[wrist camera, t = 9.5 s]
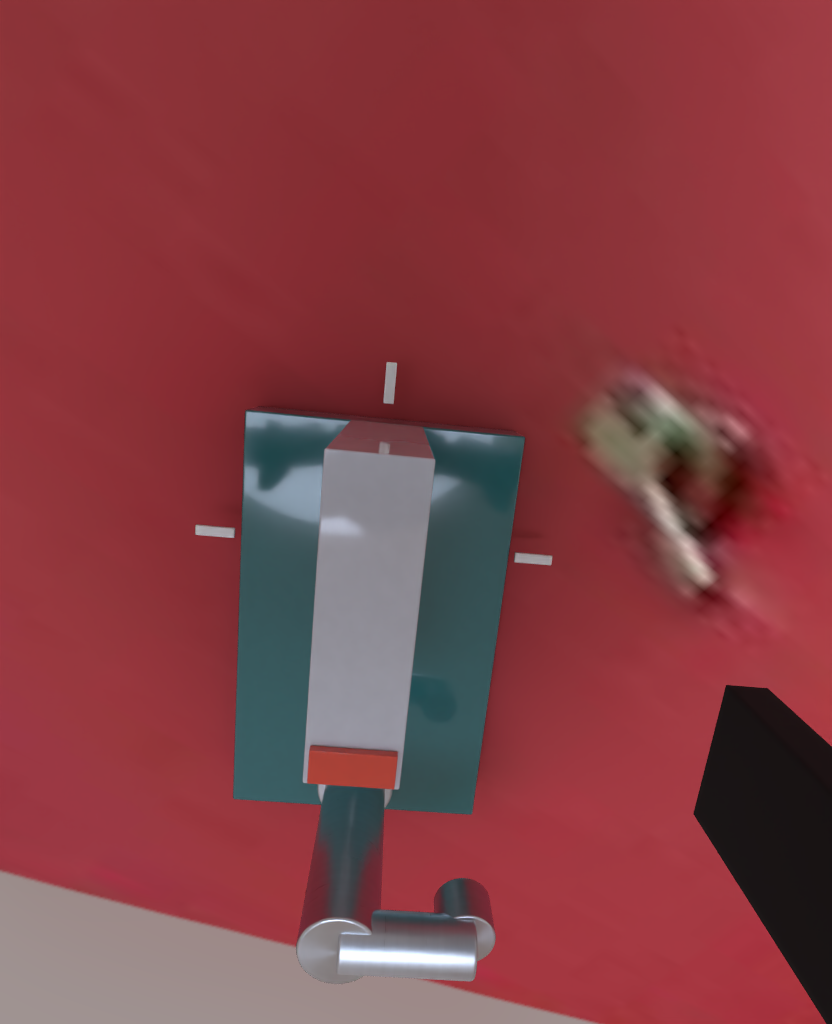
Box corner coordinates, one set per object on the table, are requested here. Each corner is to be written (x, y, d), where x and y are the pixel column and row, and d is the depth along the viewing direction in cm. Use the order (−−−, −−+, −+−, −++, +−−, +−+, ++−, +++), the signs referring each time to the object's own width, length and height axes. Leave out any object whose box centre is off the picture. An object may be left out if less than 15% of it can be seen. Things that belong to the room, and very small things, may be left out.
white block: (350, 419, 21) (322, 449, 14) (423, 427, 21) (436, 460, 14) (332, 652, 23) (300, 789, 16) (399, 657, 23) (399, 796, 16)
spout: (317, 805, 25) (279, 1005, 17) (321, 742, 24) (284, 920, 16) (465, 815, 25) (494, 1015, 17) (473, 752, 24) (508, 932, 17)
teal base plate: (216, 344, 22) (197, 342, 20) (563, 380, 23) (580, 381, 21) (208, 765, 27) (191, 800, 24) (502, 785, 27) (510, 820, 25)
